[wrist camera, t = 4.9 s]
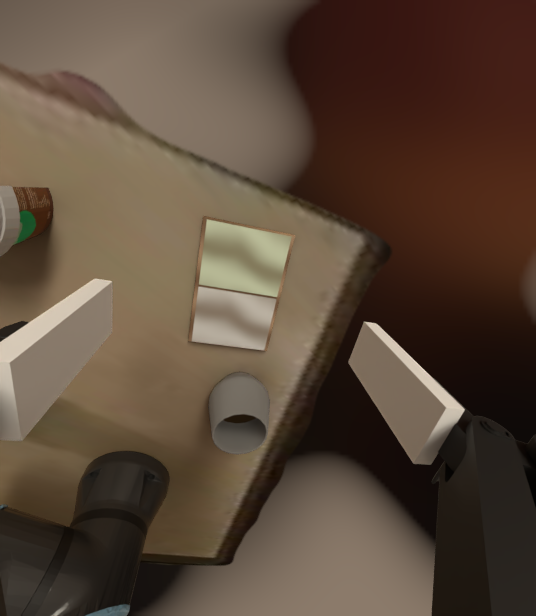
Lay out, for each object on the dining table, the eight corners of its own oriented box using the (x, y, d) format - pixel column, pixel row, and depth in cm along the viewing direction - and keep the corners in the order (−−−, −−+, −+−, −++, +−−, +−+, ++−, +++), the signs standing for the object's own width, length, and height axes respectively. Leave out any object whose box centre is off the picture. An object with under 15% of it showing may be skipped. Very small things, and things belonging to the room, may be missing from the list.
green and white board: (266, 348, 44) (267, 351, 43) (189, 338, 42) (188, 342, 41) (294, 234, 38) (295, 236, 37) (203, 216, 35) (203, 217, 34)
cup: (254, 354, 45) (260, 398, 36) (274, 396, 49) (284, 444, 39) (200, 375, 45) (192, 423, 36) (224, 414, 49) (222, 467, 40)
